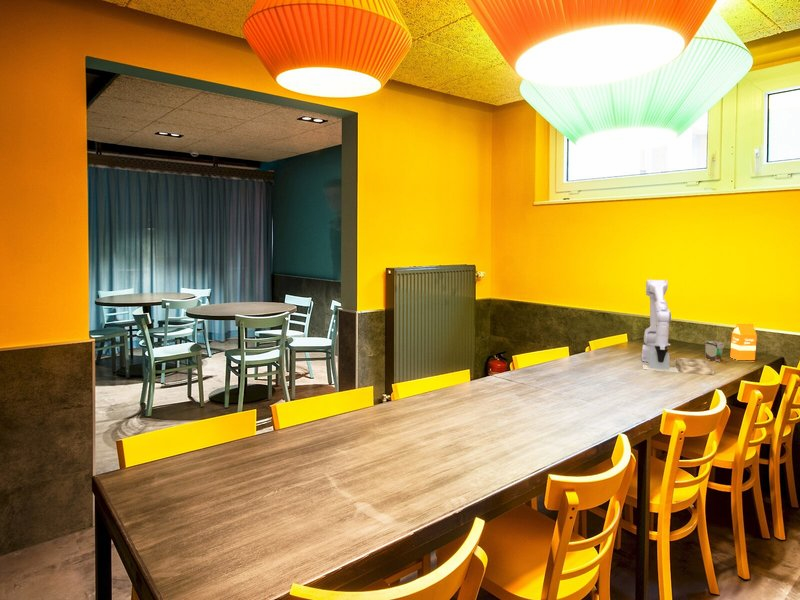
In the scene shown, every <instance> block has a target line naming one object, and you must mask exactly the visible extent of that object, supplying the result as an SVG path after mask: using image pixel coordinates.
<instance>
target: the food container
mask: <svg viewBox="0 0 800 600" xmlns="http://www.w3.org/2000/svg"><path fill="white" fill-rule="evenodd" d="M704 344H705V358H707V359H710V360H712V361H715V362H718V363H720V362H719V361H721V360H722V355H723V350H724V348H725V344H724V342H720V341H715V340H714V341H713V340H705V342H704ZM707 359H706V360H707ZM710 360H709V361H710ZM712 361H711V362H712ZM715 362H714V363H715Z"/></svg>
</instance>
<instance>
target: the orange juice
mask: <svg viewBox="0 0 800 600" xmlns="http://www.w3.org/2000/svg"><path fill="white" fill-rule="evenodd" d="M754 326H755V325H754V323H737V324H736V326H735V327H734V329H733V330H732V332H731V342H730V356H729V357H731V358H733V359H732V360H734V359H736V360H735V361H737V360H755V359H756V351H757V350H756V349H757V333H756V330H755V329H756V328H755V327H754ZM731 358H730V359H731Z"/></svg>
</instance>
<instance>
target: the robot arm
mask: <svg viewBox="0 0 800 600" xmlns="http://www.w3.org/2000/svg"><path fill="white" fill-rule="evenodd" d="M668 287H669V283H668V280H667V279H650V278H649V279H647V280H646V282H645V293H646V294H645V295H646V296H647V297H649V303H650V304H649V314H650V315H649V327H647V328H645V330H644V335H643V343H645V344H642V348H641V356H640V357H641V362H643V361H644V363H649V351H652V352H657V355H658V362H663V361H664V358H665V355H666V353H668V351H669V349H668V346H669V347H670V346H671V343H669V333H670V332H669V331H670V323H671V321H672V313H671V311H670V309H669V306H668V302H667V301H666V300H665V295H666V292H667V290H668Z"/></svg>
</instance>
